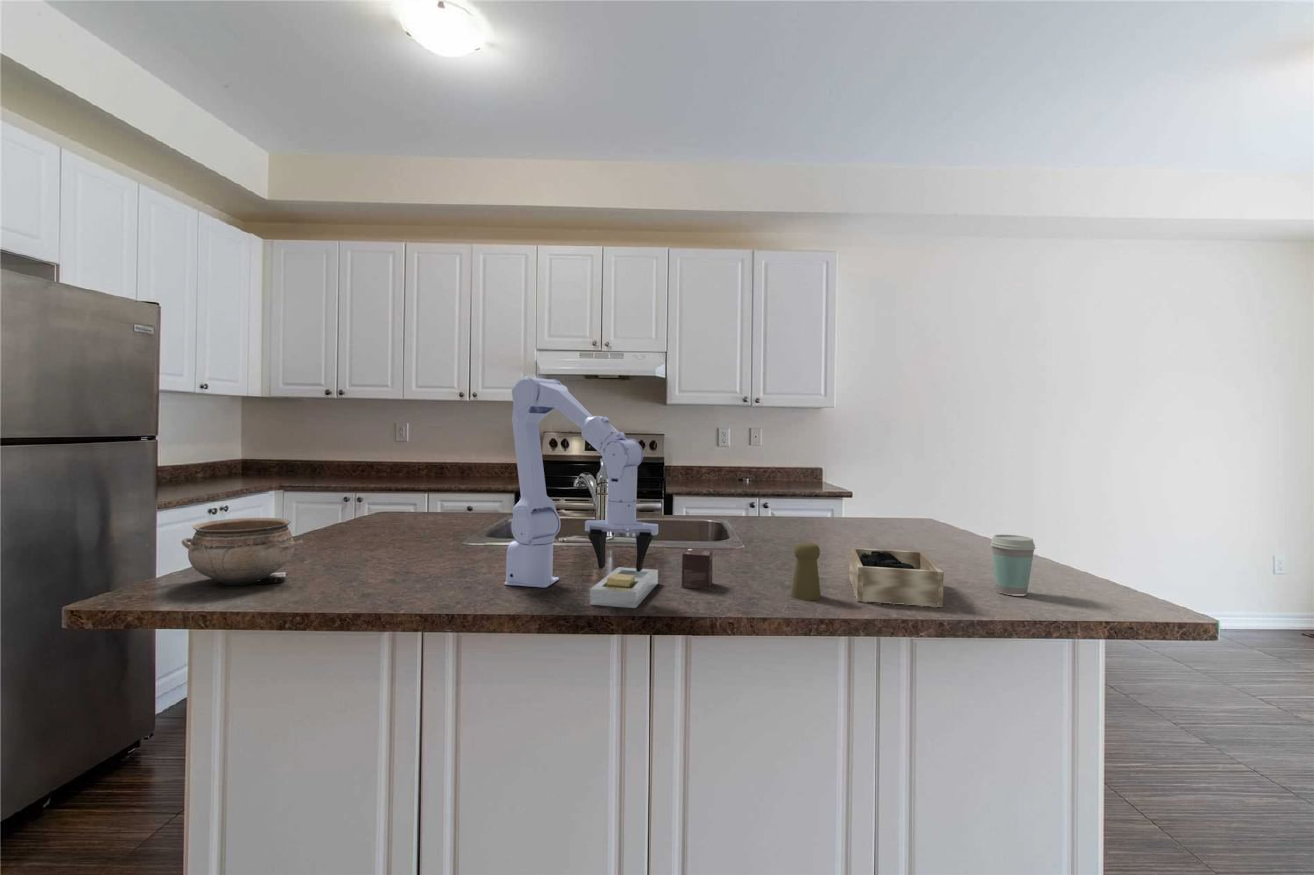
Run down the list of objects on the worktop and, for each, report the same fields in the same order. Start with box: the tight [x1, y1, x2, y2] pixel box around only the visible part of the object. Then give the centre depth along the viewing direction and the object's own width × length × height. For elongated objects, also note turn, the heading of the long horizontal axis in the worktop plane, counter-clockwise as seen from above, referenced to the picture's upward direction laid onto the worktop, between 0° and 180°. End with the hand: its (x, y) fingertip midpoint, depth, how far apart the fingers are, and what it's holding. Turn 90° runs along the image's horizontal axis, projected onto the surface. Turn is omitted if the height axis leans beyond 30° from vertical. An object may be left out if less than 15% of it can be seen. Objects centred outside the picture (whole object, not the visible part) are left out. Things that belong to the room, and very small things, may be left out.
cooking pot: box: [181, 517, 304, 586], centre depth 139 cm, size 25×19×12 cm
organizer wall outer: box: [919, 551, 945, 607], centre depth 139 cm, size 1×21×7 cm, turn 168°
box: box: [681, 548, 713, 590], centre depth 143 cm, size 6×6×7 cm
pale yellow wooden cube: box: [607, 574, 635, 589], centre depth 131 cm, size 4×4×4 cm
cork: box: [790, 541, 822, 601], centre depth 136 cm, size 6×6×11 cm
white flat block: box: [589, 566, 659, 609], centre depth 135 cm, size 9×20×3 cm, turn 168°
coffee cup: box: [990, 534, 1037, 594], centre depth 141 cm, size 8×8×12 cm
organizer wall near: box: [862, 566, 938, 606], centre depth 131 cm, size 14×1×7 cm, turn 78°
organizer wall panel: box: [848, 547, 863, 602], centre depth 142 cm, size 1×21×7 cm, turn 168°
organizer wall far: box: [854, 547, 921, 570], centre depth 150 cm, size 14×1×7 cm, turn 78°
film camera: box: [859, 551, 915, 569], centre depth 139 cm, size 15×10×9 cm, turn 17°
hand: (620, 569), depth 131 cm, fingers open, 7 cm apart
